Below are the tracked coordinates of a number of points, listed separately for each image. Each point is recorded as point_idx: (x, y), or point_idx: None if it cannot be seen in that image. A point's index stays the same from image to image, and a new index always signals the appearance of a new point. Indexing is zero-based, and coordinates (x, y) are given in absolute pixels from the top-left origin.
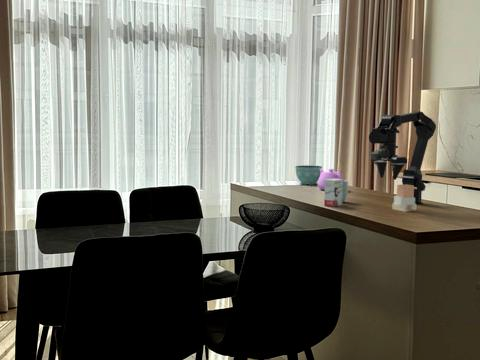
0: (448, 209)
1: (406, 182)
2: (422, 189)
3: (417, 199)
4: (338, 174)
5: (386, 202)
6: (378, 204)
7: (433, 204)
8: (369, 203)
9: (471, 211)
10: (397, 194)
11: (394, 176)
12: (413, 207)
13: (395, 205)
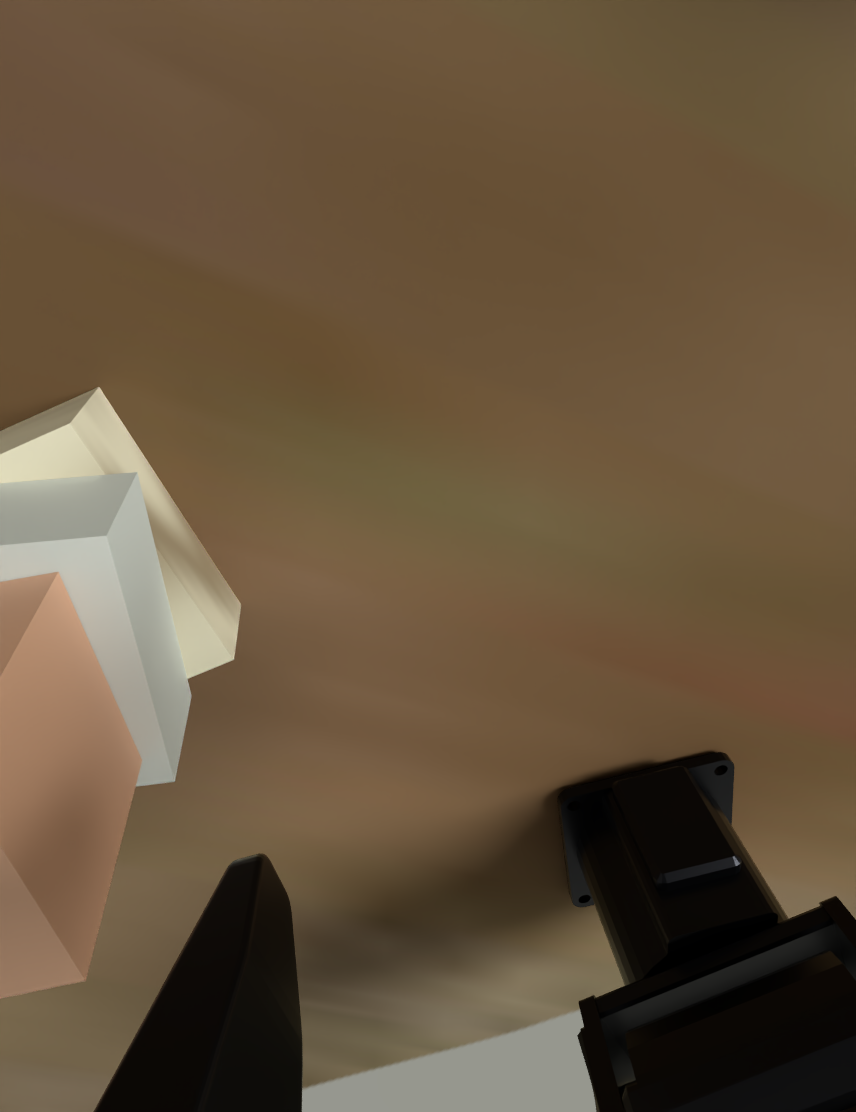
0: (157, 993)
1: (776, 1028)
2: (585, 1061)
3: (590, 890)
4: None
5: (808, 555)
6: (661, 356)
7: (520, 958)
8: (810, 234)
9: (38, 1107)
10: (18, 601)
11: (179, 977)
12: None
13: (9, 443)
